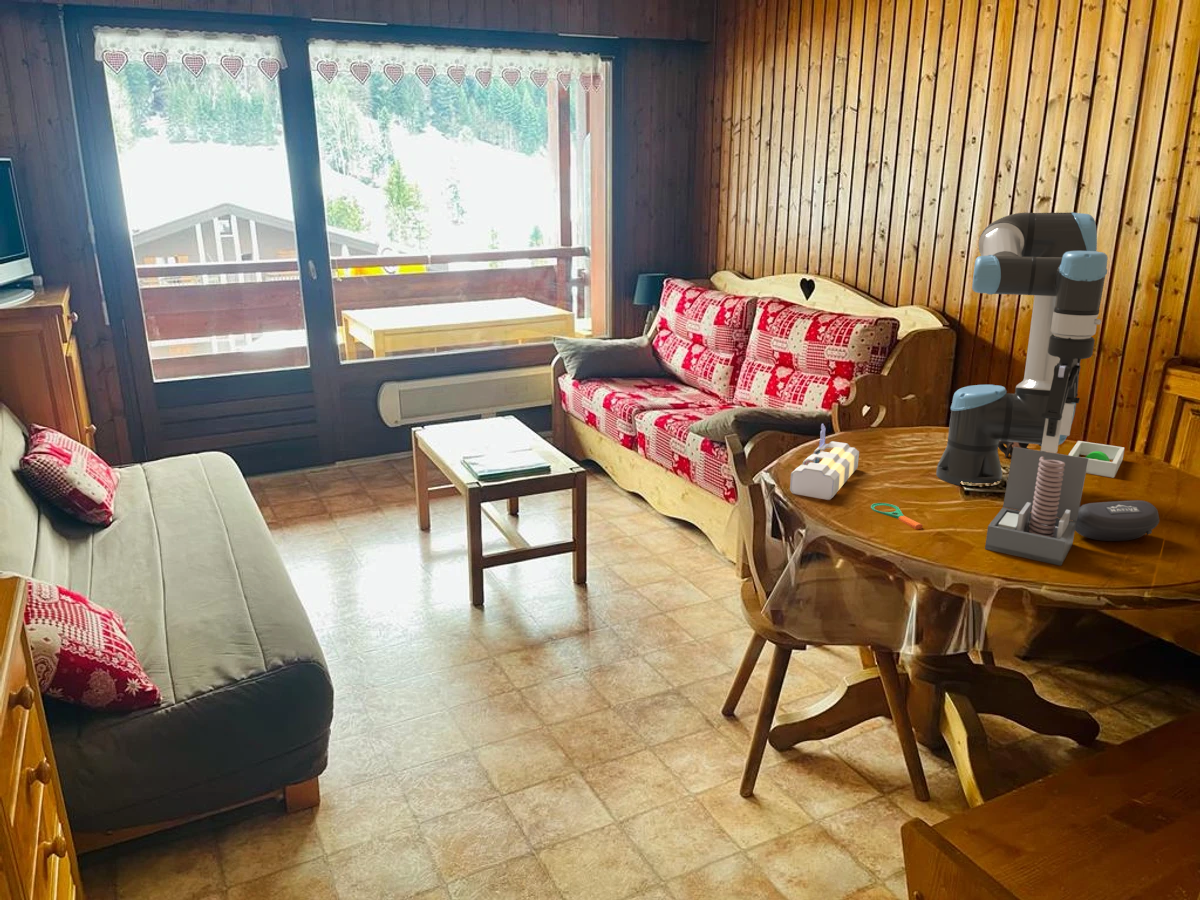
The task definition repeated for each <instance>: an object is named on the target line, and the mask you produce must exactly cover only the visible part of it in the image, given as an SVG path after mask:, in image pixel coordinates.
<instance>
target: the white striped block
mask: <svg viewBox="0 0 1200 900" xmlns="http://www.w3.org/2000/svg"><path fill="white" fill-rule="evenodd" d="M824 424H825V423H821V425H820V429H821V430H820V433H819V435H820V436H819V437H820V438H819V441H818V443H819V445H818V446H817V448H816V449H815V450H813V453H811V455H808V456H807V458H805V459H804V460H803V462H802V464H800V465H799V466H798V467H796V468H795V469H794V470H793V471H791V473H790V484H789V491H790V492H791V493H792V494H793V495H798V496H805V497H809V498H815V499H822V500H827V501H831V499H832V498H834V496H835V495H836V494H837V492H838V491H840V489H841V488H842V487H843V485H844V484H845V483H846V482H847V481H848V480H849V478H851V476H852V475H853V474H854V473H855V471H857V469H858V467H859V456H860V451H859V450H858V449H857V448H856V447H851V446H850V445H849V444H848V443H846V442H841V441H840V442H839V441H833V440H832V441H830V442H829V443H826V429H827V428H826V426H825V425H824ZM826 449H831V450H830V451H829V452H827V451H825V450H826ZM820 460H821V461H820Z"/></svg>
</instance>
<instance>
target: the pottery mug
mask: <svg viewBox="0 0 1200 900" xmlns="http://www.w3.org/2000/svg"><path fill="white" fill-rule="evenodd" d="M1029 445H1030V443H1019V442H1009V441H999V444H998V450H999V451H1001V452H1002V453H1003V454H1004V456H1005V457H1006V458H1008V457H1009V456H1010V457H1012V452H1013V447H1018V448H1025V449H1029V448H1028V446H1029ZM1037 445H1038V446H1039V447H1041V446H1042V445H1039V444H1037ZM1039 451H1041V449H1040V450H1039ZM1044 452H1046V451H1044Z"/></svg>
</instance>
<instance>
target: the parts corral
mask: <svg viewBox="0 0 1200 900" xmlns="http://www.w3.org/2000/svg"><path fill="white" fill-rule="evenodd" d="M1094 451H1100V452H1103V453H1105V454H1106V455H1107V456H1108V458H1109V460H1111V461H1110V462H1109V461H1102V460H1098V459H1090V458H1089V459H1088V464H1087V470H1086V474H1090V475H1096V476H1102V477H1106V478H1113V479H1114V478H1115V477H1116V475H1117V473H1118V470H1119V469H1120V466H1121V464H1122V462H1123V458H1124V455H1125V447H1122V446H1119V445H1118V446H1116V445H1112V444H1111V445H1110V444H1103V443H1097V442H1096V443H1095V442H1089V441H1082V440H1077V441H1076V444H1075V445H1074V446H1073V447H1072V449H1071V450H1070V452H1069V453H1068V455H1070V456H1076V457H1080V455H1083V456H1087V455H1088V454H1090V453H1091V452H1094Z"/></svg>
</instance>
